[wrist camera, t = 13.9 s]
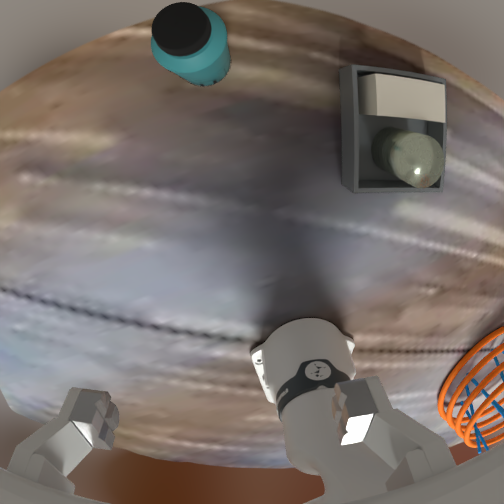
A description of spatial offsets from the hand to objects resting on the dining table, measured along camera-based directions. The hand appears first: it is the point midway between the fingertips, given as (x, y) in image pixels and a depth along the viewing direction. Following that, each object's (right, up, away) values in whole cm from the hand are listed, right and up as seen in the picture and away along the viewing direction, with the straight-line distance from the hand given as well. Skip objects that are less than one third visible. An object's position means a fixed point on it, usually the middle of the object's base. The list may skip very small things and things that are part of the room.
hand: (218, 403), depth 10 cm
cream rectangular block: (+20, +26, +26) cm, 41 cm away
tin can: (+20, +19, +29) cm, 40 cm away
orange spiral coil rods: (+66, -28, +54) cm, 90 cm away
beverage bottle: (-5, +29, +24) cm, 38 cm away
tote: (+20, +22, +28) cm, 41 cm away
